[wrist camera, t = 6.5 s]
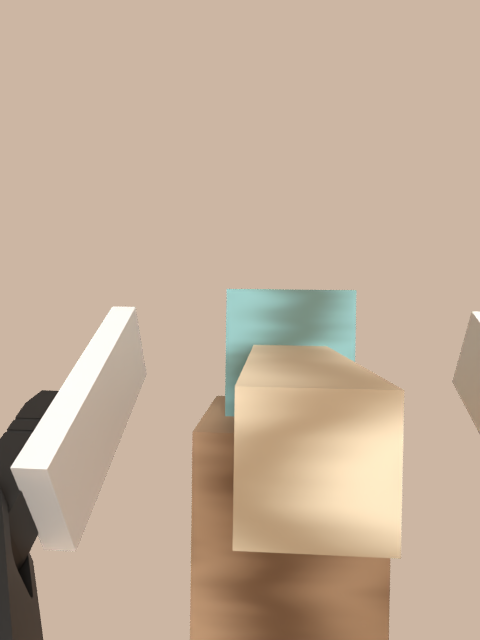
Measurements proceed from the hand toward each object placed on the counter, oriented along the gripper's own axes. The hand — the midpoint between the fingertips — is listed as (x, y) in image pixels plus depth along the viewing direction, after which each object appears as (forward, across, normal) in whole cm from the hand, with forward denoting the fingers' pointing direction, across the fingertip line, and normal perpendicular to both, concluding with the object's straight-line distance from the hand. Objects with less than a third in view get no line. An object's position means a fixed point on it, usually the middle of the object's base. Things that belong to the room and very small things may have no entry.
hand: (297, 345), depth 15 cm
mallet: (+1, 0, -5) cm, 5 cm away
